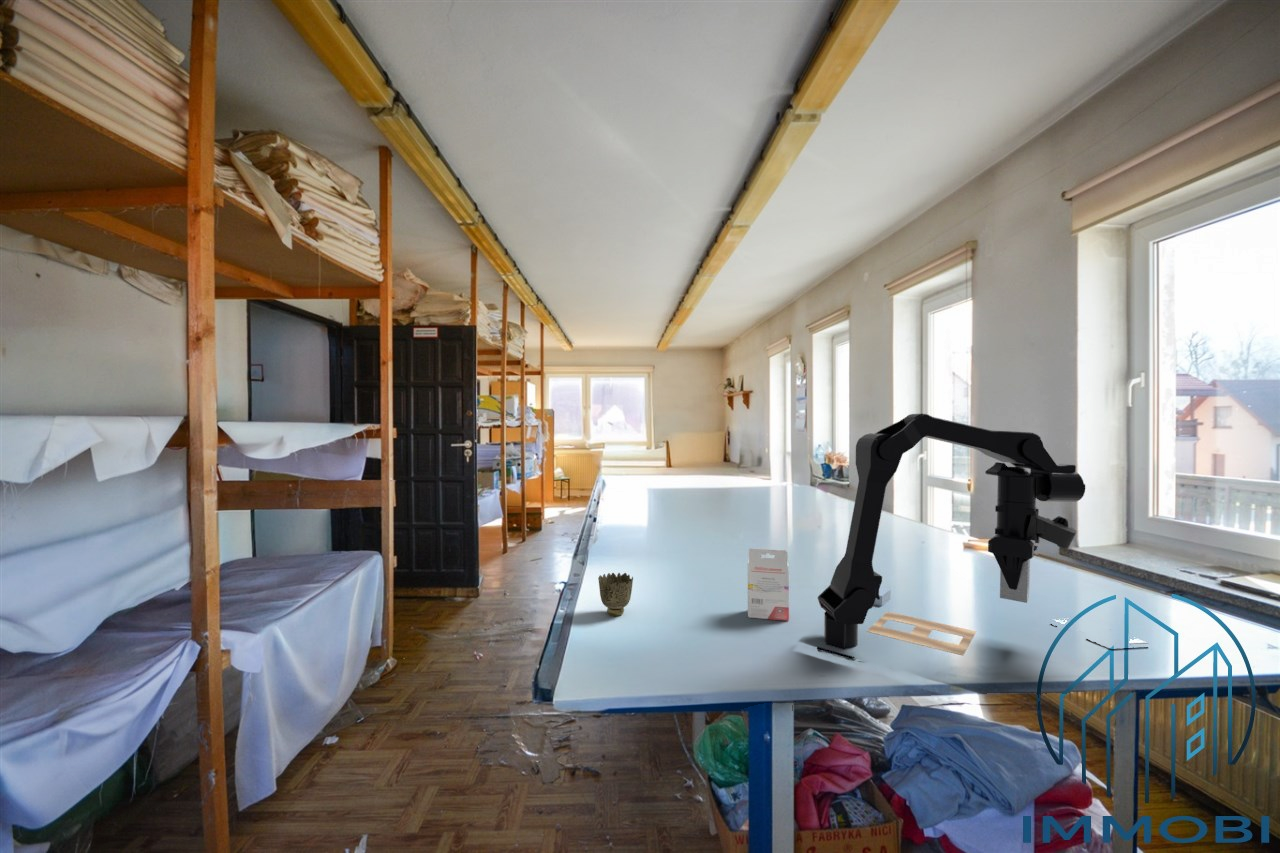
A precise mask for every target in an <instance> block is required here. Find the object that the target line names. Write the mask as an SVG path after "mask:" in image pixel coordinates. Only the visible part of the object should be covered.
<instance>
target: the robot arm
mask: <svg viewBox="0 0 1280 853" xmlns="http://www.w3.org/2000/svg"><path fill="white" fill-rule="evenodd" d="M923 438H928V439H931V440H936V441H940V442H945V443H948V444H949V443H950V444H953V445H957V446H962V447H966V448H970V449H974V450H977V451H979V452H981V453H982V454H984V455H986V456H987V457H989V458H993V459H994V460H997V462H995V463H994V464H993V465H992V466H991V467H990V468H988V469H987V470H985V474H986V475H989V476H996V477H997V496H996V498H997V500H996V505H995V509H994V510H995V512H996V527H995V528H994V534H995V535H994V536H992V537H990V539H988V540H987V541H988V542H987V553H990V554H991V553H992V554H993V557H994V558H995V560H996V562H997V565H998V566H999V569H1001V571H1002V573H1003V575H1004V578H1005V580H1006V582H1007V584H1008V587H1009V588H1010V589H1014V590H1016V589H1017V587H1018V583H1019V579H1020V575H1021V571H1022V567H1023V563H1024V562H1026V561H1027V560H1029V559H1030V560H1031V559H1033V557H1034V556H1035V553H1034V552H1035V551H1037V549H1038V546H1037V545H1035V544H1039V543H1040V542H1041V539H1042V540H1045V541H1047V542H1050V543H1052V544H1055V545H1056V546H1057V547H1059V548H1061V549H1064V550H1069V548H1070V546H1071V544H1072V542H1073V541H1074V538H1075V536H1076V534H1077V530H1076V529H1075V528H1074V527H1070V526H1069V519H1068V518H1066V517H1062V516H1059V515H1057V516H1056V517H1054V518H1052V519H1050V518H1048V517H1044V516H1041V515H1039V508H1037V505H1036V504H1037V500H1038V501H1039V502H1040V501H1041V502H1060V503H1061V502H1065V503H1075V502H1078V501H1080V500H1081V499H1082V498H1083V497H1084V496H1085V493H1086V484H1085V483H1084V479H1083V478H1082V476H1081V475H1080V473H1079V472H1077V470H1076V469H1077V468H1076V467H1077V466H1076V464H1070V463H1069V464H1068V463H1067V464H1066V463H1060V464H1056V462H1055V460H1054V459H1053V458H1052V456H1051V455H1050V454H1049V452H1048V450H1046V448H1045V446H1044V444H1043V441H1042V439H1041V436H1040V435H1038V434H1036V433H1034V432H1028V431H1013V430H1012V431H1009V430H1005V431H1004V430H990V429H986V428H982V427H978V426H973V425H969V424H965V423H961V422H956V421H953V420H952V421H951V420H947V419H945V418H944V419H943V418H939V417H935V416H933V415H930V414H928V413H911V414H908V415H907V416H906V417H904V418H902V419H900V420H899V421H897V422H895V423H893V424H890V425H888V426H887V427H884V428H881V429H879V430H878V431H877V432H875V433H867V434H866V433H865V434H864V435H862V436H861V437H860V438H858V440H857V442H856V444H855V466H856V471H857V476H858V484H857V488H856V494H855V501H854V506H853V510H852V511H853V512H852V516H851V521H850V522H851V523H850V527H849V532H848V538H847V541H846V542H847V543H846V549H845V554H844V556H843V558H842V559H841V560H840V561H839V563H838V564H837V565H836V566H835V570H834V572H833V575H832V578H831V581H830V585H829V586H827V587H826V588H825V589H824V590H823V591H822V592H821V593H820V594H819V595H818V596H817V601H818V603H819V606H820V608H821V609H823V610H824V611H825V612H824V615H823V617H824V619H823V620H824V626H823V627H824V628H823V633H824V634H823V636H824V637H823V638H824V639H823V640H824V642H825V646H831V647H834V648H836V649H841V650H845V649H852V648H853V649H854V648H856V647H857V646H858V644H859V643H858V641H859V631H858V630H859V625H863V624H864V623H865V620H866V616H867V615H868V612H869V610H872V609H873V607H874V606H875V605H874V603H875V600H876V598H877V599H878V600H879V599H880V597H879V588H880V587H881V585H882V582H883V576H882V575H881V574H879V573H877V572H876V571H875V570H874V566H873V560H874V559H873V558H874V554H875V548H876V545H877V543H876V542H877V538H878V532H879V527H880V523H881V522H880V521H881V517H882V511H883V505H884V500H885V494H886V489H887V486H888V483H890V481H891V480H892V478H893V476H894V475H895V473H897V470H898V468H899V465H900V463H901V459H902V457H903V454H905V453H906V452H908V451H910V450H911V449H913V448H914V447H916V445H918V443H919V442H921V440H922V439H923ZM1006 463H1009V464H1010V465H1013V466H1007V465H1006ZM1027 469H1030V472H1029V471H1027ZM1036 499H1037V500H1036ZM1033 541H1034V542H1033ZM816 649H817V650H819V651H822V652H826V653H828V654H833V655H836V656H840V657H842V658H847V659H849V660H854V659H855V658H856V657H855V656H852V655H848V654H844V653H841V652H837V651H834V650H831V649H827V648H824V647H821V646H820V647H819V646H816Z"/></svg>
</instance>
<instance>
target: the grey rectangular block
mask: <svg viewBox="0 0 1280 853" xmlns="http://www.w3.org/2000/svg"><path fill="white" fill-rule="evenodd" d="M1030 568H1031V559H1029V560H1027V561H1026V562H1024V563H1023V567H1022V571H1021V575H1020V579H1019V583H1018V587H1017V589H1016V590H1014V589H1010V588H1009V587H1008V584H1007V582H1006V580H1005V578H1004V575H1003V573H1002V571H1001V569H1000V568H999V569H1000V571H999V572H1000V573H999V574H1000V575H999V576H1000V577H999V580H1000V581H999V582H1000V583H999V598H1000V599H1005V600H1010V601H1015V602H1019V603H1026V604H1028V601H1029V599H1030V576H1031V575H1030V574H1031V573H1030V572H1031V570H1030Z"/></svg>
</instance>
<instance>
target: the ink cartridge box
mask: <svg viewBox="0 0 1280 853" xmlns="http://www.w3.org/2000/svg"><path fill="white" fill-rule="evenodd" d="M767 554H769V555H771V556H774V557H762V555H767ZM788 554H789V553H788V551H787V550H786V549H771V548H770V549H769V548H753V547H751V548H749V549H748V561H747V617H748V618H749V619H750V618H752V619H762V620H763V619H764V620H774V621H786V622H787V621H789V619H790V605H789V604H790V597H789V596H790V589H789V588H790V585H789V584H790V582H789V581H790V579H789V578H790V570H789V568H790V566H789V562H788V561H789V560H788V558H789V555H788Z"/></svg>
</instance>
